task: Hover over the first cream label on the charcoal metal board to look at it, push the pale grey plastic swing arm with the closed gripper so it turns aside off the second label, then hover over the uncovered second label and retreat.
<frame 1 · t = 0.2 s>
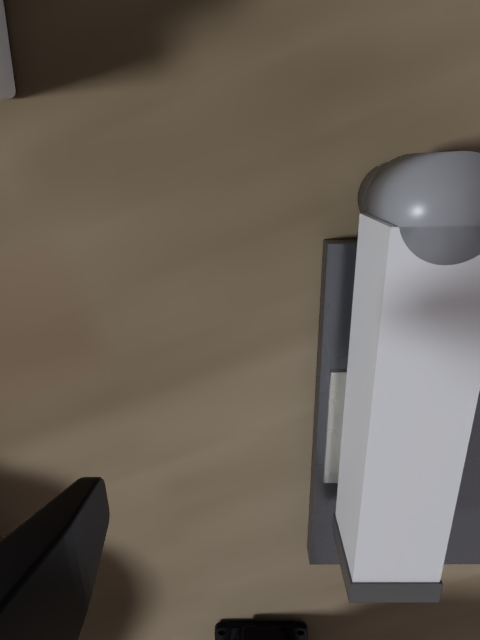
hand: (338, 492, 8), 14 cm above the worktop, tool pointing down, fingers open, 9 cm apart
swing arm: (403, 396, 18), point 5 cm above the worktop, hinge at 0.0°
label board: (456, 415, 24), on the worktop
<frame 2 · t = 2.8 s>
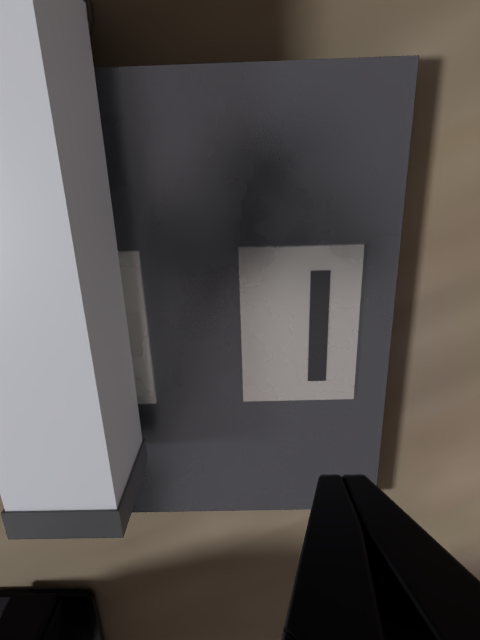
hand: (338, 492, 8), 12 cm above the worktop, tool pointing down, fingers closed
swing arm: (39, 257, 14), point 5 cm above the worktop, hinge at 0.0°
label board: (208, 319, 19), on the worktop
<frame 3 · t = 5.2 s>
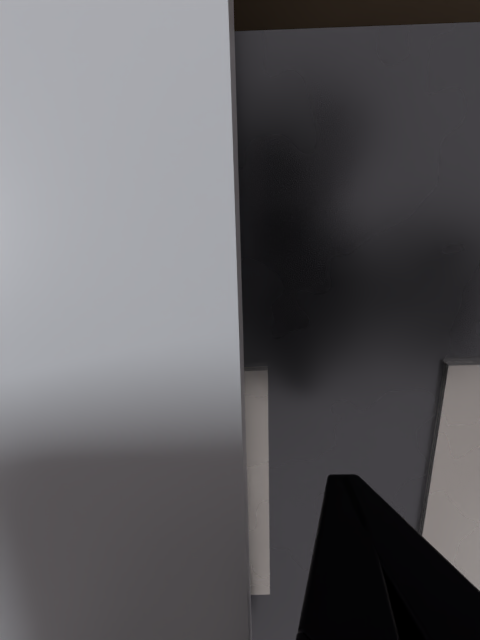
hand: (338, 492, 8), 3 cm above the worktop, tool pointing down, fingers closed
swing arm: (112, 442, 6), point 5 cm above the worktop, hinge at 0.1°, touching gripper
label board: (354, 456, 12), on the worktop
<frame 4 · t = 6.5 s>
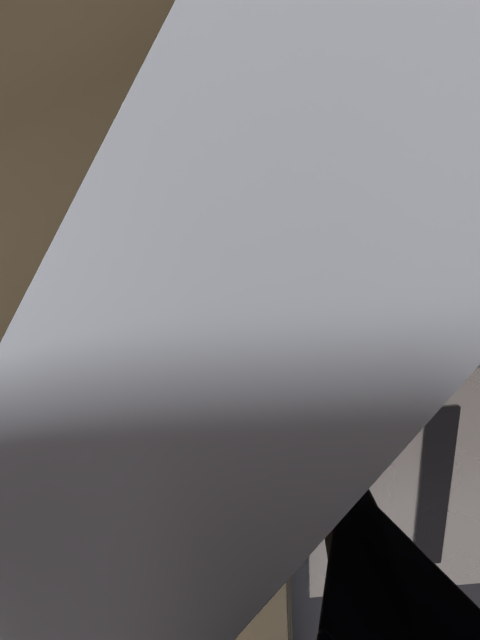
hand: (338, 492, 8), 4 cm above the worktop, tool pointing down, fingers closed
swing arm: (193, 365, 6), point 5 cm above the worktop, hinge at 36.6°, touching gripper
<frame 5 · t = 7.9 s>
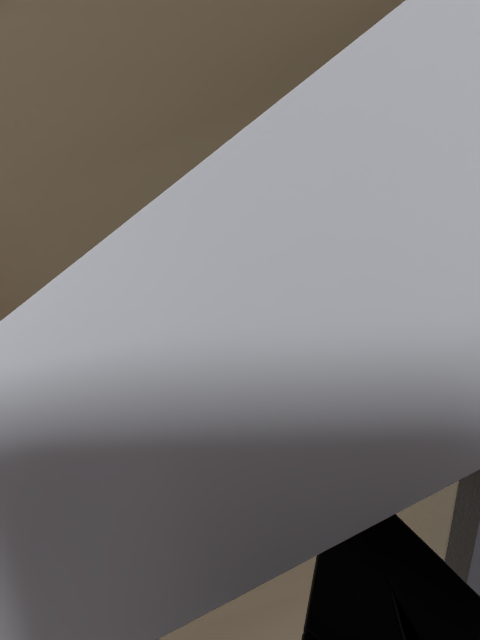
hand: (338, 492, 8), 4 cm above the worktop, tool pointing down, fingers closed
swing arm: (441, 197, 5), point 4 cm above the worktop, hinge at 55.9°, touching gripper
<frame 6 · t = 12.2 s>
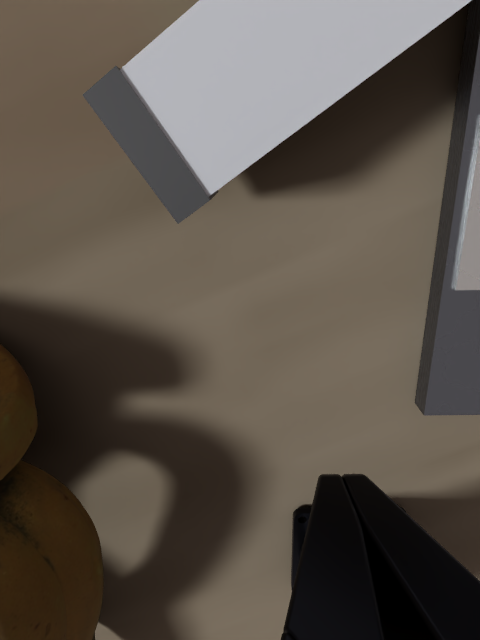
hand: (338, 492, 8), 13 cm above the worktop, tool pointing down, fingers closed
brown looped sculpture: (23, 513, 25), on the worktop
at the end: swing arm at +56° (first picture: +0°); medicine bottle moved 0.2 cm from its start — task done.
